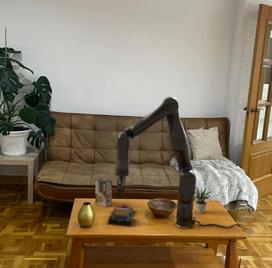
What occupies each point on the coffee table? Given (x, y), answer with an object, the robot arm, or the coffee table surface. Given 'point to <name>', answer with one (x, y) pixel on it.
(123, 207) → the button
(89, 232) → the coffee table surface
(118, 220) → the spout base
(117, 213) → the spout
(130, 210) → the button block
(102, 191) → the coffee box
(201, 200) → the house plant
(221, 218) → the coffee table surface
